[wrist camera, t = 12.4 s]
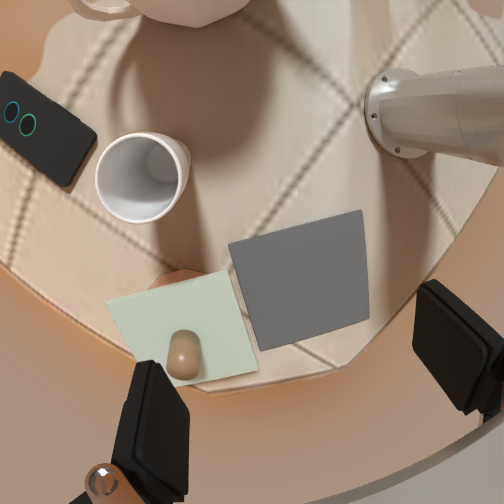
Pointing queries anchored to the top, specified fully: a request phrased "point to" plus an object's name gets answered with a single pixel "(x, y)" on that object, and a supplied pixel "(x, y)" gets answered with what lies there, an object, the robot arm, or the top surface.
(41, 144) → the smart home device
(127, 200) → the drinking glass
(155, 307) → the cover sheet
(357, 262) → the mat
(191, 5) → the watering can
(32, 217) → the top surface
